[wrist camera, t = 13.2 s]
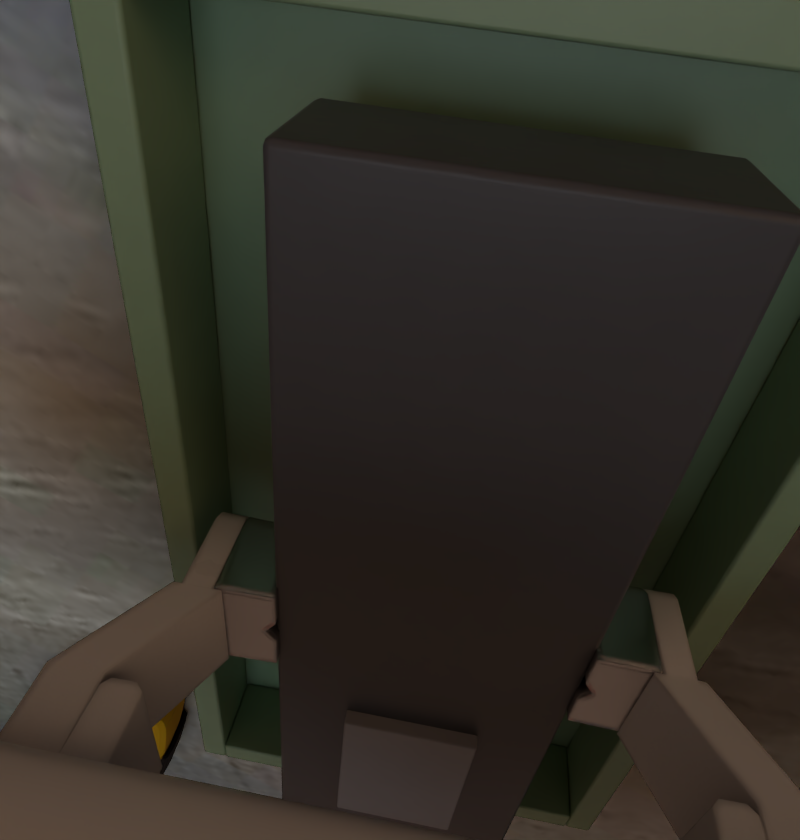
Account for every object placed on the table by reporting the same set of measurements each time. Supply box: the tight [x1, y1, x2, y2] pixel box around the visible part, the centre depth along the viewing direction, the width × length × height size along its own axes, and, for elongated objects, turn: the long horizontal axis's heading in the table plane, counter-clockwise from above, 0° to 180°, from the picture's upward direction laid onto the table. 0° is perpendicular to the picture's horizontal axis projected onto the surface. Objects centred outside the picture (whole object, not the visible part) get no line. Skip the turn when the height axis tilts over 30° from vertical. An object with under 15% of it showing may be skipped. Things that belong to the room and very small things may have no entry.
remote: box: [263, 98, 800, 840], centre depth 11 cm, size 5×15×2 cm, turn 174°
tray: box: [69, 0, 800, 830], centre depth 12 cm, size 10×18×2 cm, turn 174°
